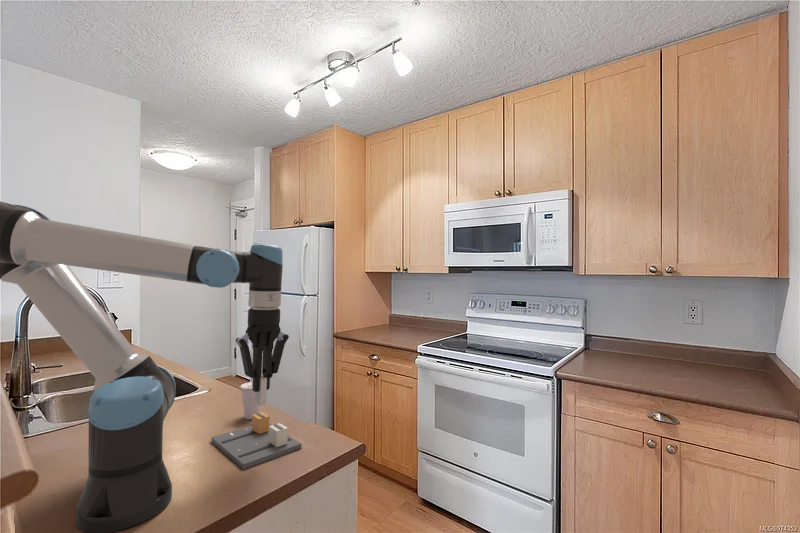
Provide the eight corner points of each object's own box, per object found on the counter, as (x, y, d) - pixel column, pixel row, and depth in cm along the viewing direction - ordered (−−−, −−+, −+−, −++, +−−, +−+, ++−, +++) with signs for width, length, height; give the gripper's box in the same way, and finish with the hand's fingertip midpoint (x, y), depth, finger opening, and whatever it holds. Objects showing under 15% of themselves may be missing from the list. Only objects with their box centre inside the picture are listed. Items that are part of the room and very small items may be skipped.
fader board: (243, 469, 90) (243, 463, 90) (211, 441, 104) (211, 436, 104) (301, 448, 101) (301, 443, 101) (265, 425, 114) (265, 421, 114)
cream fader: (276, 447, 98) (276, 429, 98) (268, 441, 101) (268, 424, 101) (287, 443, 101) (287, 426, 101) (279, 438, 103) (279, 421, 103)
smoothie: (247, 422, 116) (248, 375, 116) (235, 417, 120) (236, 371, 120) (266, 416, 121) (267, 370, 121) (254, 411, 125) (255, 366, 125)
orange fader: (258, 434, 106) (258, 417, 106) (251, 429, 108) (252, 413, 108) (269, 430, 108) (269, 414, 108) (262, 426, 111) (262, 410, 110)
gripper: (245, 310, 90) (240, 414, 90) (296, 308, 99) (292, 402, 100) (231, 307, 95) (227, 405, 95) (281, 305, 105) (277, 394, 105)
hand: (260, 403), depth 98 cm, fingers closed
